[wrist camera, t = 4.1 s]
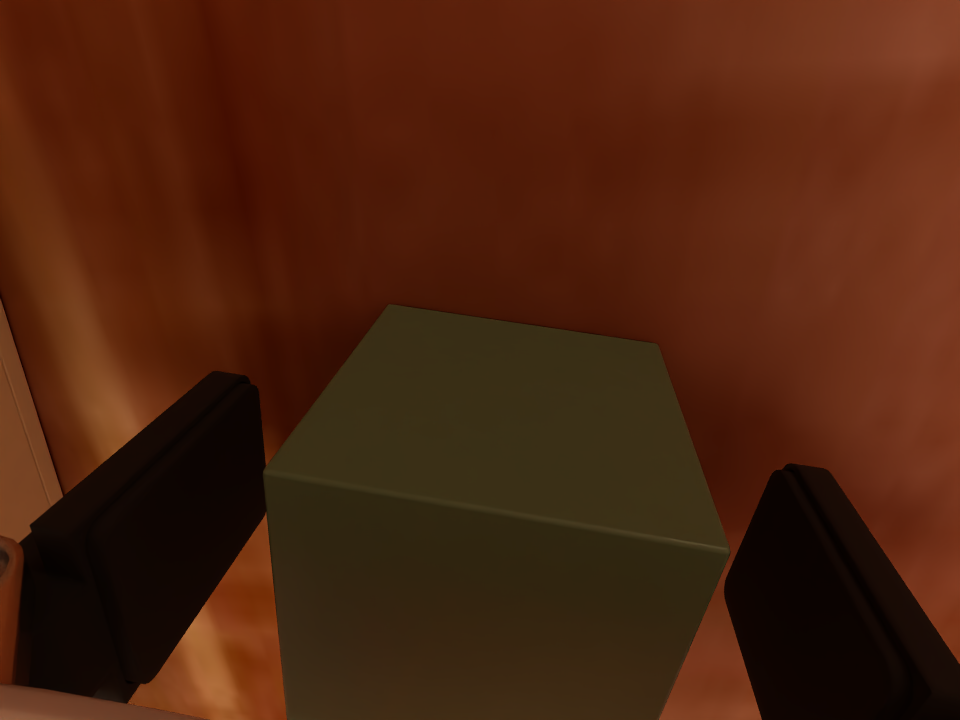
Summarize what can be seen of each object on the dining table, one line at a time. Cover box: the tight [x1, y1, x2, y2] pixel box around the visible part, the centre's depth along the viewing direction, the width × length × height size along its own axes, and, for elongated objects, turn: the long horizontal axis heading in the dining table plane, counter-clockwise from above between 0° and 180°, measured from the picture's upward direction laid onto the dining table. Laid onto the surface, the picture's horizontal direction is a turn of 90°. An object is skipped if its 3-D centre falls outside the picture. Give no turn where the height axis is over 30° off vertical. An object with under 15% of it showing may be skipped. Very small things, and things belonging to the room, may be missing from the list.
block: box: [263, 304, 730, 720], centre depth 9 cm, size 5×5×5 cm
